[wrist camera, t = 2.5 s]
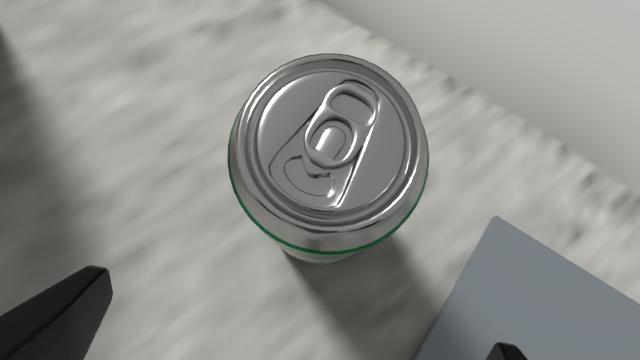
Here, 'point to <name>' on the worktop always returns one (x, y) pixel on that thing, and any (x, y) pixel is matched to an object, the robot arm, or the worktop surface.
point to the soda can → (328, 156)
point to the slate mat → (531, 306)
